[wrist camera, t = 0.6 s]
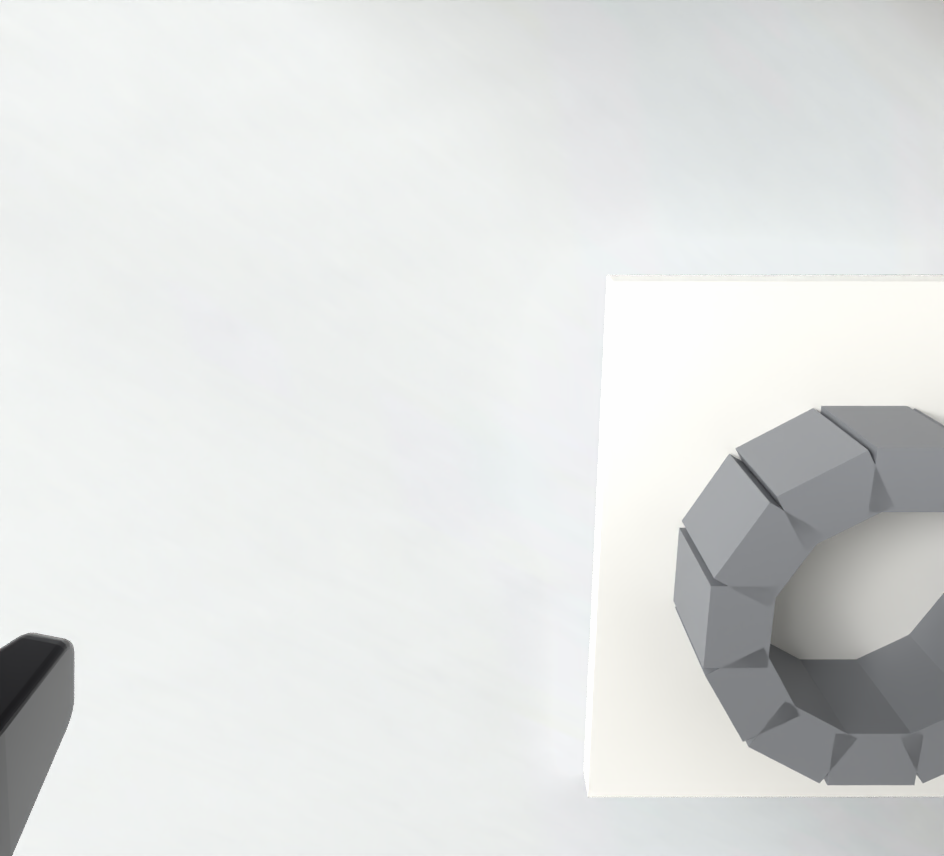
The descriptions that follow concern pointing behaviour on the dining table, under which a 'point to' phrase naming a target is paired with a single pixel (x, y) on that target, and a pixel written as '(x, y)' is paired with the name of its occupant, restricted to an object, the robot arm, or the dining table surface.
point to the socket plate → (669, 449)
